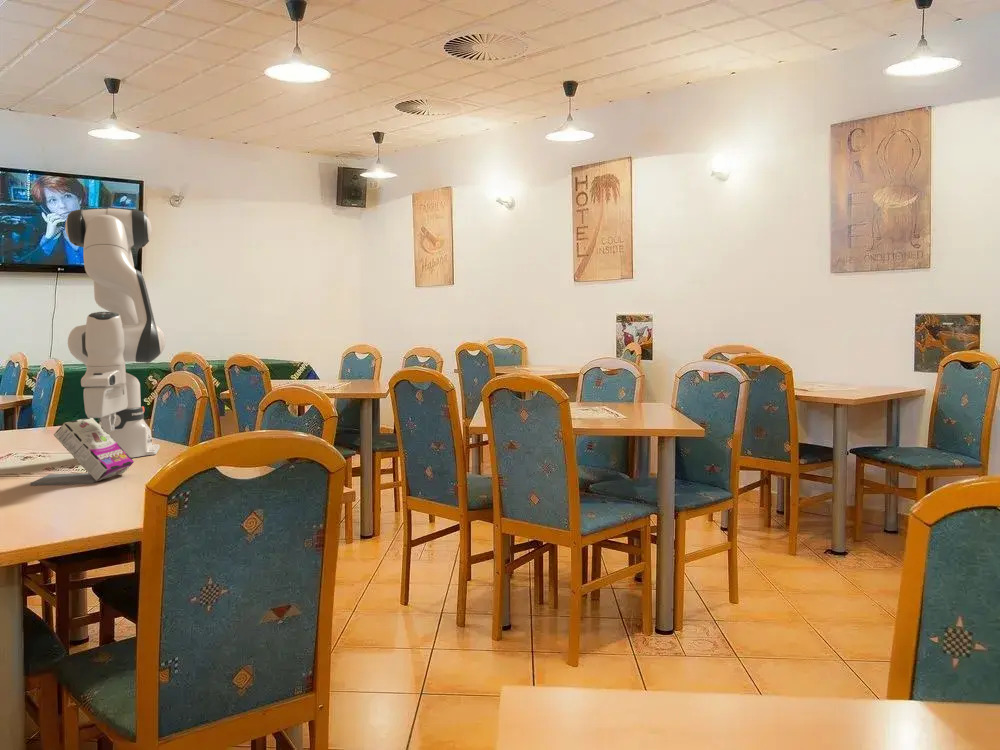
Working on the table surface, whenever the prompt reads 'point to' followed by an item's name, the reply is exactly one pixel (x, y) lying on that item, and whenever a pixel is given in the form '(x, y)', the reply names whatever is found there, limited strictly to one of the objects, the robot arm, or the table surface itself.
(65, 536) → the table surface
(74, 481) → the slate mat
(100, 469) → the candy bar box
